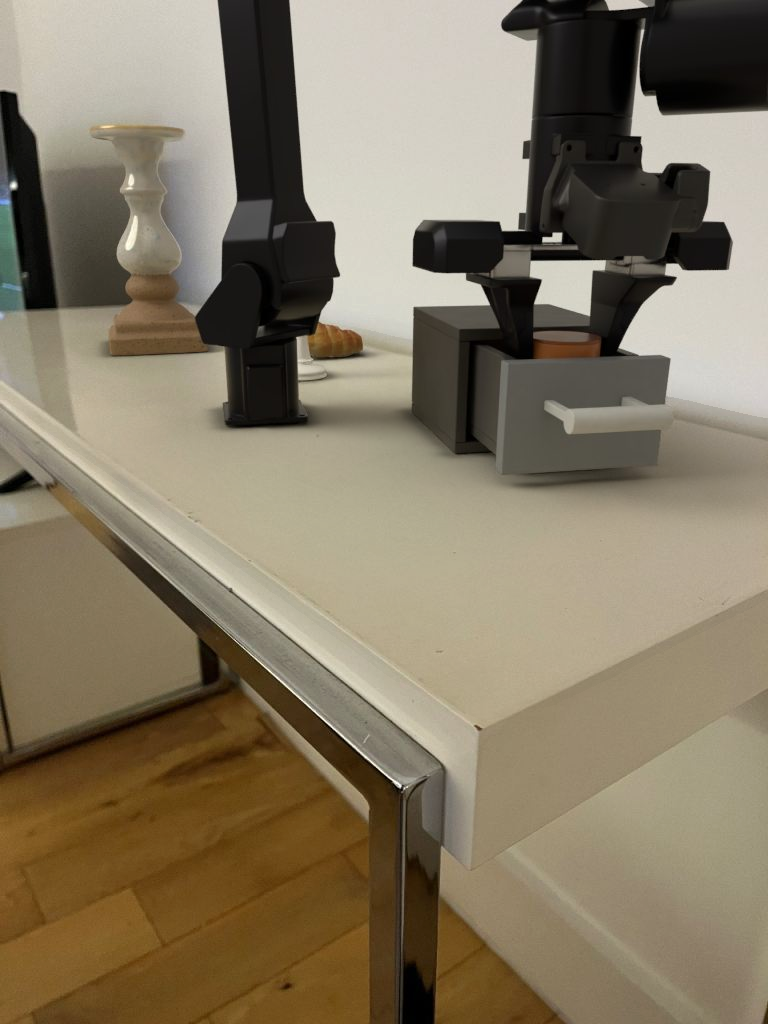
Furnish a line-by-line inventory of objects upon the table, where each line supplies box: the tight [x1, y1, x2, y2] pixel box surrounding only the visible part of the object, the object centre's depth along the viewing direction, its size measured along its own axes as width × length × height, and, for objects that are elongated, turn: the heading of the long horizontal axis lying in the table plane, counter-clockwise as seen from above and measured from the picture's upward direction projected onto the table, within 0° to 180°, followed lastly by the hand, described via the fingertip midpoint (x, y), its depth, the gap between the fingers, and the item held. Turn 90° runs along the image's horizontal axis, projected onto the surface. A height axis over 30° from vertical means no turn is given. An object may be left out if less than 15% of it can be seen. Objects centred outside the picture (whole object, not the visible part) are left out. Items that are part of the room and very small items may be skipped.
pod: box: [533, 331, 601, 359], centre depth 53 cm, size 5×5×4 cm
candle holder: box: [89, 124, 209, 356], centre depth 95 cm, size 11×11×24 cm
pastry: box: [307, 321, 364, 359], centre depth 93 cm, size 9×7×4 cm
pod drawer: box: [466, 340, 675, 476], centre depth 53 cm, size 16×10×7 cm, turn 12°
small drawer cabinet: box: [411, 303, 590, 454], centre depth 63 cm, size 13×12×9 cm
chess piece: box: [296, 335, 328, 382], centre depth 81 cm, size 5×5×10 cm
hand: (559, 385), depth 53 cm, fingers closed on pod, 4 cm apart
